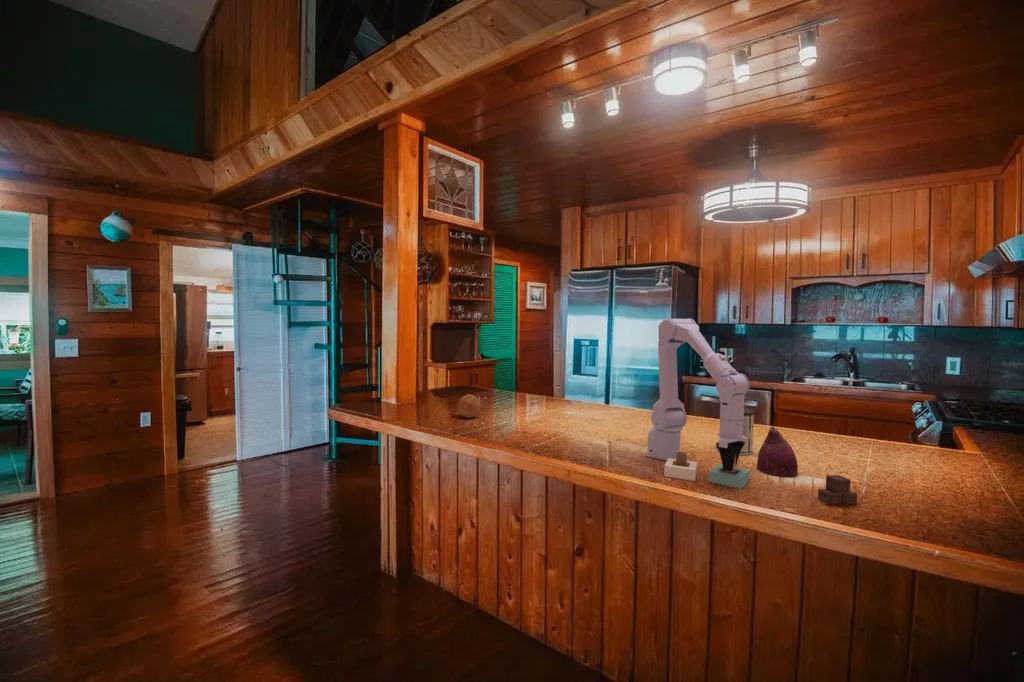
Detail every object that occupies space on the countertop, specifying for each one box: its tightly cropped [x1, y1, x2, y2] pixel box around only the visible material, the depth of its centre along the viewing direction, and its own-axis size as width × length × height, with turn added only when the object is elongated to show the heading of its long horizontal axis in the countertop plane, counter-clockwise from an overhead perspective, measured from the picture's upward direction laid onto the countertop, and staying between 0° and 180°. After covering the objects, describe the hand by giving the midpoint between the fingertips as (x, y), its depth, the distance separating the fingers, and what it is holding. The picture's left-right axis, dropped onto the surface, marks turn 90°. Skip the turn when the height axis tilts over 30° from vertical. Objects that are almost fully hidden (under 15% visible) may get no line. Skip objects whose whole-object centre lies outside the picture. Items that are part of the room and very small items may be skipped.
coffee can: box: [739, 407, 755, 456], centre depth 156 cm, size 10×10×14 cm
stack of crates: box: [817, 474, 858, 506], centre depth 115 cm, size 15×15×7 cm
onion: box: [456, 393, 482, 419], centre depth 201 cm, size 10×10×10 cm
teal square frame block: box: [708, 463, 750, 490], centre depth 127 cm, size 8×8×3 cm
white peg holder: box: [663, 458, 698, 482], centre depth 132 cm, size 8×8×3 cm
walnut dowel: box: [676, 451, 688, 467], centre depth 132 cm, size 3×3×6 cm
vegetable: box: [756, 425, 799, 478], centre depth 135 cm, size 10×10×15 cm
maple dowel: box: [724, 457, 737, 474], centre depth 127 cm, size 3×3×8 cm
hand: (729, 468), depth 127 cm, fingers closed on maple dowel, 3 cm apart
